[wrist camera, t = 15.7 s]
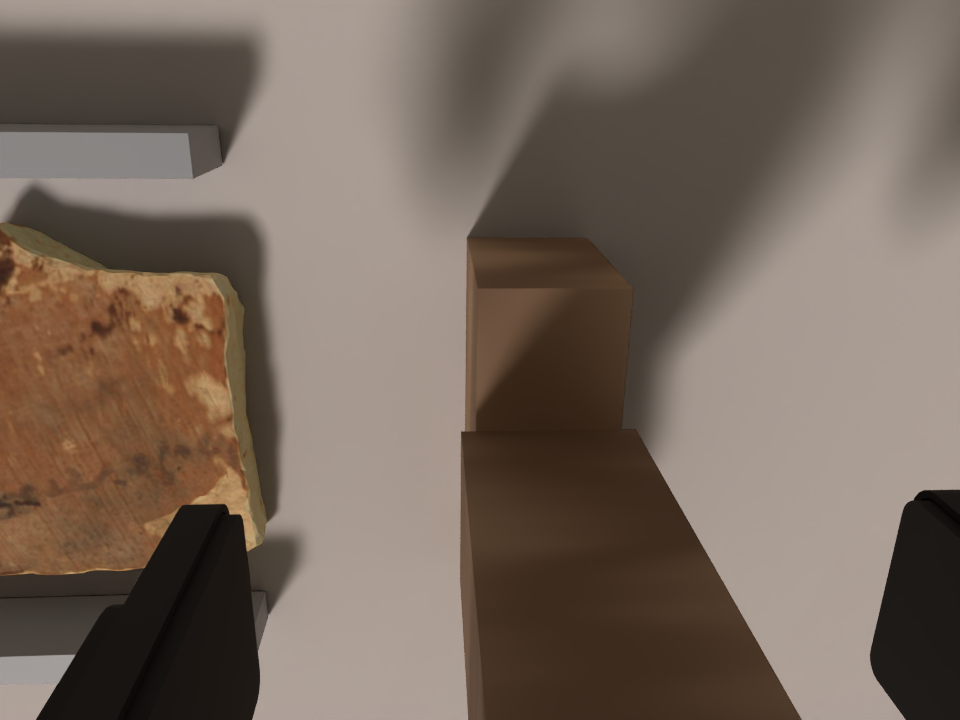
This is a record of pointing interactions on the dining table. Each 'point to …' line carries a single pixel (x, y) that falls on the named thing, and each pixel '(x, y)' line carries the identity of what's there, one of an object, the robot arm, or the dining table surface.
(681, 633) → the wooden step block
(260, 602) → the frame
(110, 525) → the shard
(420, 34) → the dining table surface
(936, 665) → the robot arm
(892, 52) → the dining table surface
